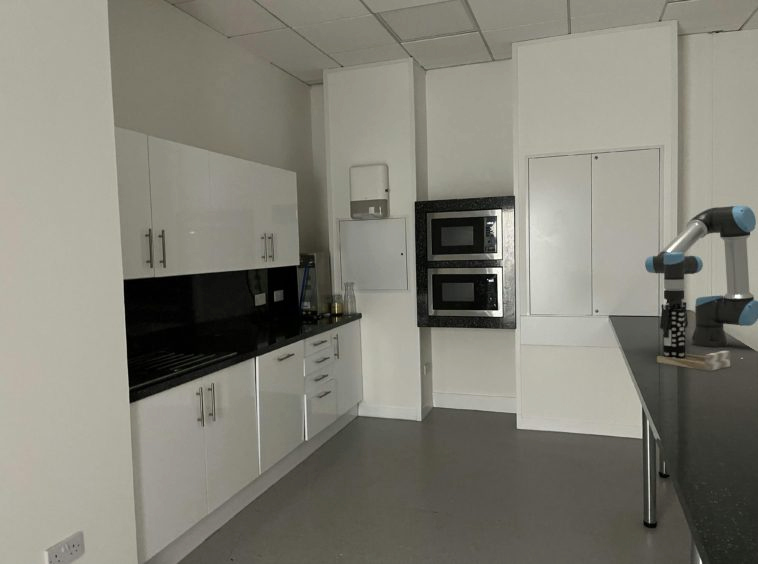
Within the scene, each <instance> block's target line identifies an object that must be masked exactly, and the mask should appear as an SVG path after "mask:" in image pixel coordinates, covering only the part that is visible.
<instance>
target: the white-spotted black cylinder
mask: <svg viewBox="0 0 758 564" xmlns="http://www.w3.org/2000/svg"><path fill="white" fill-rule="evenodd" d="M670 317H671V326H670V330H671V346H667V345H664V330H663V329H662V356H664V357H671V358H677V359H683V358H685V357H686V354H687V352H686V339H687V337H686V328H685V309H683V307H682V309H676V310H669V316H668V318H670ZM667 327H668V326H667Z"/></svg>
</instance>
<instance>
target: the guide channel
mask: <svg viewBox="0 0 758 564" xmlns="http://www.w3.org/2000/svg"><path fill="white" fill-rule="evenodd" d="M657 362H658V363H659V364H664V365H671V366H677V367H684V368H689V369H696V370H700V371H701V370H702V371H707V372H712V371H716V370H721V369H724V368H729V367H730V366H731V351H730V350H721V351H717V352H716V351H715V352H711V353H708V354H707V353H706V354H704V355H697V354H691V353H686V357H685V358H683V359H677V358H671V357H664V356H663V355H658V356H656V363H657Z"/></svg>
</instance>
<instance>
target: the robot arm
mask: <svg viewBox="0 0 758 564" xmlns="http://www.w3.org/2000/svg"><path fill="white" fill-rule="evenodd" d="M756 222H757V220H756V216H755V213H754V211H753V210H752V209H751V207H749V206H747V205H733V206H732V205H730V206H719V207H718V206H717V207H711V208H708V209H705V210H703V211H701V212H700V213H698V214H696V215H695V216H694V217H692V218H691V219H690V220H689V221H687V223H686V225H685V228H684V229H683V230H682V231H680V233H679V234H678V235H676V237H675V238H673V240H671V241H670V242H669V243H668V244H667V246H665V248H663V249H662V250H661V251H660V252H659V253H658V254H657V255H652V256H648V257H647V258H646V259H645V262H644V268H645V269H646V271H647V272H648V273H649V274H656V275H657V274H663V289H664V290H663V299H664V300H666V303H665V304H661V306H660V307H661V315H660V324H659V328H660V329H661V330H662V331H663V330H664V345H667V346H671V330H670V326H671V317H670V318H668V316H669V310H676V309H682V308H683V309H685V329H687V328H688V325H689V321H688V312H687V302H686V301H685V302H684V301H682V300H684V299H685V290H684V289H685V275H694V274H698V273H699V272H700V271H702V269H703V268H704V267H703V266H704V265H703V264H704V263H703V260H702V258H701V257H700V256H696V255H686V256H685V254H686V253H687V252H688V251H689V250H690V249H691V248H692V247H693V246H694V245H695V243H697V242H698V241H699V240H700V239H703V238H705V237H707V235H709V234H719V236H720V239H722V240H723V242H724V257H725V258H724V259H725V275H726V276H725V277H726V291H727V292H726V294H725V295H709V296H701V297H697V298H696V299H695V305H694V308H695V312H694V313H695V314H694V315H695V328H694V331H693V334H692V337H691V341H690V342H691V344H692V345H694V346H700V347H714V348H719V347H727V346H728V345H729V344H728V343H729V341H728V338H727V334H726V332H725V329H724V325H734V326H741V327H742V326H744V327H745V326H746V327H748V326H749V327H751V326H753V325H754V324H756V322H757V321H758V300H756V299H755V297H754V294H753V293H751V292H750V279H749V278H750V277H749V261H748V260H749V259H748V245H747V244H748V240H747V239H748V238H750V236H751V232H753V231H754V230H755V229H756V225H757V223H756ZM667 326H668V327H667Z"/></svg>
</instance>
